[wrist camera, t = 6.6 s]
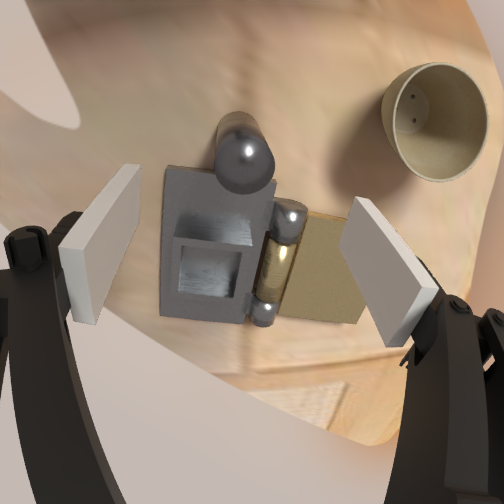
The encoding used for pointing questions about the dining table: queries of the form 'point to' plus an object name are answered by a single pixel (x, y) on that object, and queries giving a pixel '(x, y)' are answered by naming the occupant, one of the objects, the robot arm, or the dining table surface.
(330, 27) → the dining table surface
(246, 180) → the pin
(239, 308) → the hinge base
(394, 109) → the flower pot
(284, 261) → the brass leaf
